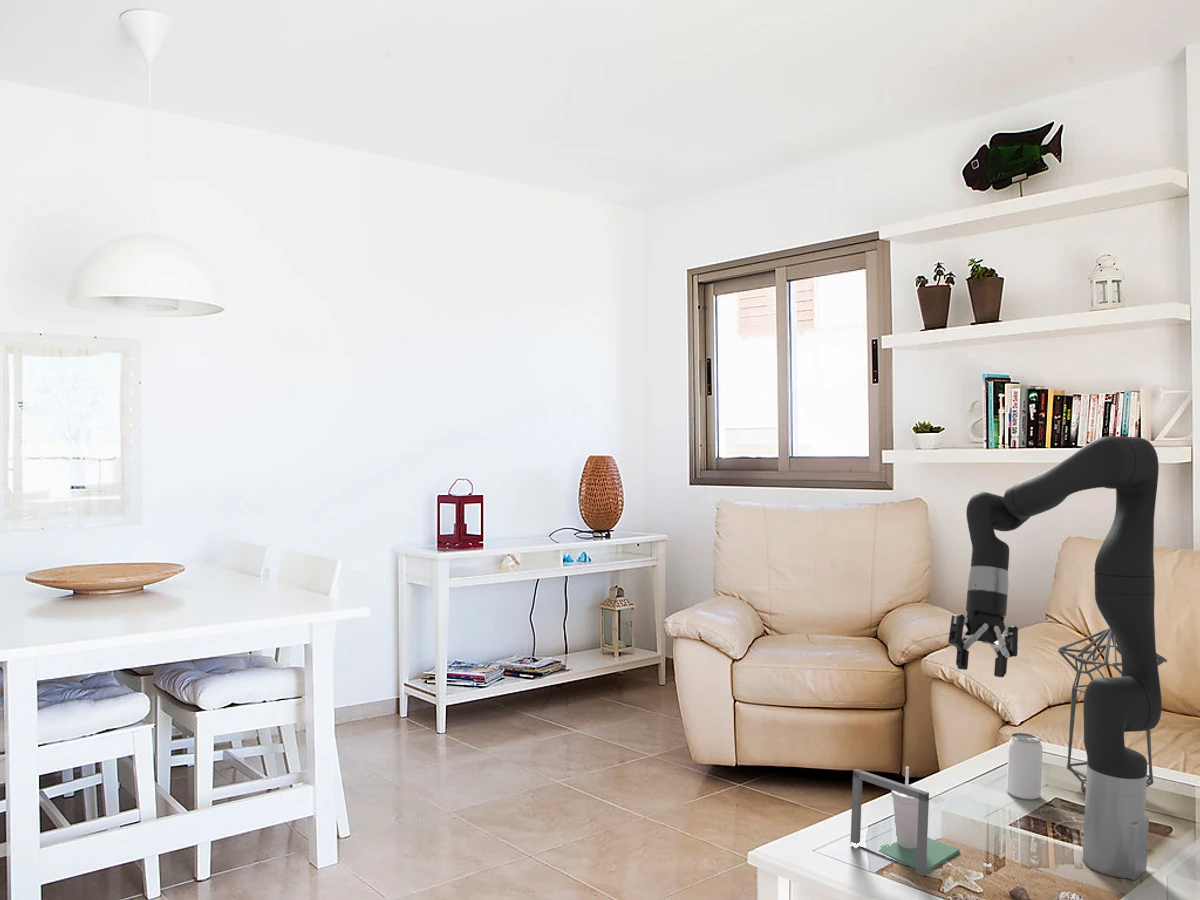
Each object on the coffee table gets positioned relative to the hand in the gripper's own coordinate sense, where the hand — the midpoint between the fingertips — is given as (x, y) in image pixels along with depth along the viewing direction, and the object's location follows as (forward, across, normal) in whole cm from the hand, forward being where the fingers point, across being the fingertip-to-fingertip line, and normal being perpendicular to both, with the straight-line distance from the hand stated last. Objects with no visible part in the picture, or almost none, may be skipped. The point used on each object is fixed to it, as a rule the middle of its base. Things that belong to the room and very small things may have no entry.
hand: (980, 673), depth 188 cm
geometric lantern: (+19, +38, +8) cm, 43 cm away
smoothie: (+33, -16, -4) cm, 37 cm away
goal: (+34, -16, -5) cm, 38 cm away
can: (+22, +21, +11) cm, 32 cm away
